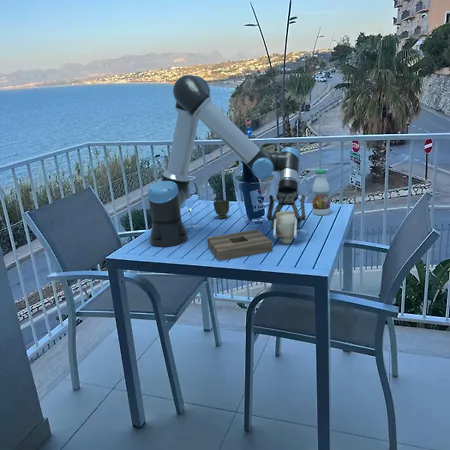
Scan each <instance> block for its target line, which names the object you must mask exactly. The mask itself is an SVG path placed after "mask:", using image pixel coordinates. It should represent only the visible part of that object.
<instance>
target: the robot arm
mask: <svg viewBox="0 0 450 450" xmlns="http://www.w3.org/2000/svg"><path fill="white" fill-rule="evenodd" d="M172 93H173V98H174V99H175V102H176V103H175V106H174V108H175V111H177V116H176V117H177V118H176V122H175V128H174V134H173V137H172V143H171V148H170V152H169V153H170V154H169V159H168V163H167V170H165V171H164V172H163V173H162V175H161V181H157V182H154V183H152V184H150V186H148V189H147V197H148V202H149V209H150V216H151V222H152V225H151V230H150V231H151V232H150V236H149V239H150V245H152V246H153V247H159V248H163V247H164V248H166V247H167V248H168V247H172V246H173V247H175V246H179V245H181V244H183V243H186V241H188V240H189V237H188V231H187V230H186V227H185V226H184V223H183V221H182V214H181V205H183V203H185V202H186V201H187V199H188V197H189V193H190V188H189V186H190V185H189V184H190V180H191V178H190V176H189V175H188V172H189V168H190V164H191V163H190V162H191V159H192V153H193V149H194V145H195V139H196V134H197V129H198V125H199V120H200V121H201V122H202V123H203V124H204V125H205V126H206V127H207V128H208V129H209V130H210V131H211V132H212V133H213V134H214V135H215V136H216V137H217V138H218V139H220V141H222V143H223V144H224V145H226V147H228V148H229V149H230V151H232V152H233V153H234V154H235V155H236V156H237V157H238V158H239V159H240V160H241V161H242V162H243V163H244V164H245V165H246V166H247V167H248V168H249V169H250V170H251V171H252V174H253V175H254V176H255V177H256V178H258V179H259V180H260V179H262V180H263V179H264V180H265V179H267V178H269V177H270V176H271V175H272V173H273V172H279V173H278V184H277V185H278V186H277V193H276V194H275V195H269V197H268V198H269V205H268V209H267V215H266V219H267V221H269V222H271V224H270V228H271V230H272V231H273V234H272V236H273V238H274V239H277V225H276V213H277V212H280V211H282V209H283V207H284V206H291V208H292V210H293V211H292V212H294V213H295V225H294V236H293V237H294V239H297V238H298V237H297V236H298V230H301V222H305V221H306V211H305V210H306V209H305V208H306V207H305V202H306V194H301V195H300V194H299V192H298V188H299V184H298V183H299V170H300V153H299V150H298V149H297V148H296V147H293V146H288V147H283V148H282V149H281V150H280V152H272V151H271V152H270V151H262V150H261V149H260V148H259V147H258V146H257V145H256V144H255V143H254V142H253V141H252V140H251V139H250V138H249V137H248V136H247V135H246V134H245V133H244V132H243V131H242V130H241V129H240V128H239V127H238V126H237V125H236V124H235V123H234V122H232V120H230V118H229V117H228V116H226V115H225V113H224V112H223V111H222V110H221V109H220V108H219V107H218V106H216V104H214V102H213V101H212V97H211V95H210V94H211V89H210V86H209V84H208V82H207V80H205V79H204V78H202V77H201V76H198V75H192V74H184V75H182V76H180V77H178V78H177V79H176V80H175V83H174V84H173V89H172ZM276 200H277V201H278V203H277V206H276V207H275V210H274V206H275V202H276ZM297 200H299V202H300V209H301V211H300V212H301V216H300V214H299V212H298V211H299V210H298V208H297V205H296V201H297ZM273 210H274V211H273Z"/></svg>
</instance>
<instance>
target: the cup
mask: <svg viewBox="0 0 450 450" xmlns="http://www.w3.org/2000/svg"><path fill="white" fill-rule="evenodd" d="M213 208H214V211H215V214H216V215H218V218H219V219H226V218H227V214H228V213H229V211H230V210H229V209H230V200H229V199H226V200H225V199H221V200H220V199H219V200H217V199H216V200H214V201H213Z"/></svg>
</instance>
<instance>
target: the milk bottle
mask: <svg viewBox="0 0 450 450" xmlns="http://www.w3.org/2000/svg"><path fill="white" fill-rule="evenodd" d="M330 188H331V186H330V184H329V182H328V179H327V169H326V168H325V169H324V168H317V169H315V180H314V181H313V185H312V191H311V192H312V193H311V195H312V196H311V197H312V199H311V200H312V213H313V215H315V216H327V215H329V214H330V213H331V189H330Z"/></svg>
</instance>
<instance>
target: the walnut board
mask: <svg viewBox="0 0 450 450" xmlns="http://www.w3.org/2000/svg"><path fill="white" fill-rule="evenodd" d="M206 239H207V246H208V248H209V250H210V251H211V252H212V253H213V255H214V256H215V258H216V259H217V261H219V262H220V261H225V260H226V261H227V260H231V258H232V259H236V258H241V257H242V256H243V257H247V256H253V255H258V254H264V253H268V252H273V242H272V241H271V239H269V238H268V237H267V236H265V235H264V234H263V233H262V232H261V231H259V230H258V229H251V230H244V231H239V232H238V231H237V232H233V233H232V232H231V233H226V234H221V235H215V236H208V237H207V238H206Z"/></svg>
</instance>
